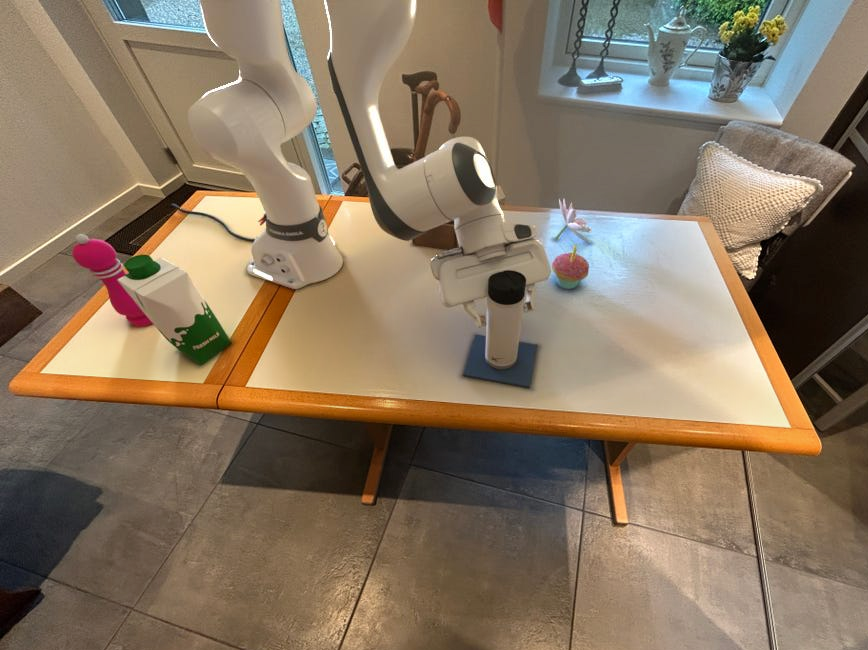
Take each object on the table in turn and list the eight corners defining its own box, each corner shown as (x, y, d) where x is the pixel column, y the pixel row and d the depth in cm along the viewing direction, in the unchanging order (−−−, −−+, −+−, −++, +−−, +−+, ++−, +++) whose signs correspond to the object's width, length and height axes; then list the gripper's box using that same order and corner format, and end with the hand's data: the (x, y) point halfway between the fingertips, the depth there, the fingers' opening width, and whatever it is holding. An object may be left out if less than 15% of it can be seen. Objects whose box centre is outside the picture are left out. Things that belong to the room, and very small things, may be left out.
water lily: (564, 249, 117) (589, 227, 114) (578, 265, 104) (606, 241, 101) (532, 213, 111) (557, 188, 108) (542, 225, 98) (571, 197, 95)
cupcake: (584, 296, 93) (596, 252, 84) (547, 291, 94) (555, 247, 85) (585, 274, 98) (596, 230, 89) (550, 269, 99) (558, 225, 90)
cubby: (412, 244, 106) (409, 220, 100) (425, 222, 113) (423, 199, 107) (457, 251, 104) (456, 226, 99) (467, 228, 111) (466, 204, 106)
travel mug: (495, 375, 76) (501, 295, 61) (479, 352, 80) (481, 271, 65) (523, 364, 78) (535, 283, 63) (506, 342, 82) (514, 261, 67)
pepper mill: (174, 310, 88) (111, 228, 73) (146, 332, 84) (74, 249, 68) (148, 302, 89) (82, 220, 74) (119, 323, 85) (43, 241, 70)
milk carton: (211, 326, 85) (155, 244, 70) (239, 342, 82) (186, 261, 67) (172, 351, 80) (102, 270, 65) (200, 370, 77) (133, 289, 62)
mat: (462, 376, 77) (462, 374, 77) (475, 336, 84) (475, 334, 84) (529, 388, 75) (530, 386, 75) (536, 346, 82) (537, 344, 82)
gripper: (430, 250, 63) (455, 335, 64) (543, 223, 68) (564, 302, 70) (423, 259, 69) (447, 336, 70) (528, 233, 74) (547, 305, 76)
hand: (506, 319), depth 70 cm, fingers open, 8 cm apart
